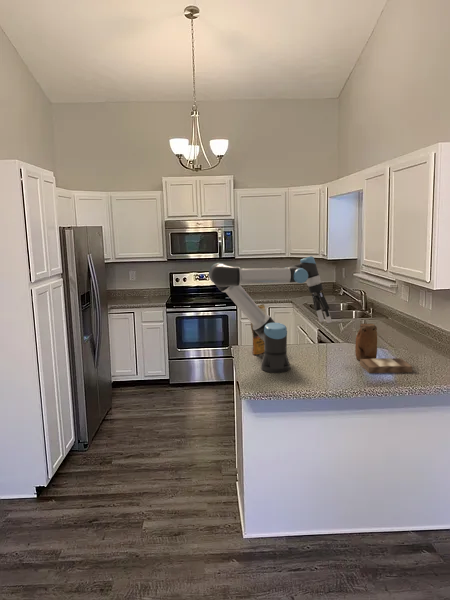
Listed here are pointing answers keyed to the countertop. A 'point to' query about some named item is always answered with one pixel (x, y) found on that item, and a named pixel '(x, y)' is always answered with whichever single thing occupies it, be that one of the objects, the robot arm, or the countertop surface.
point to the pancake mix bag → (257, 341)
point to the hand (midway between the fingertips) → (325, 322)
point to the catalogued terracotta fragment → (366, 342)
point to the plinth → (385, 365)
